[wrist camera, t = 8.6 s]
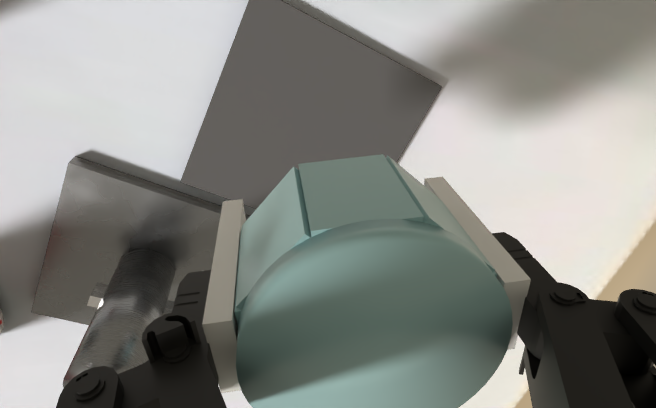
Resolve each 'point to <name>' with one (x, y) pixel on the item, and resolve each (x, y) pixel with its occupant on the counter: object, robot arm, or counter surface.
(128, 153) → the counter surface
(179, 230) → the post
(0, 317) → the soda can
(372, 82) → the mat
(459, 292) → the cap
